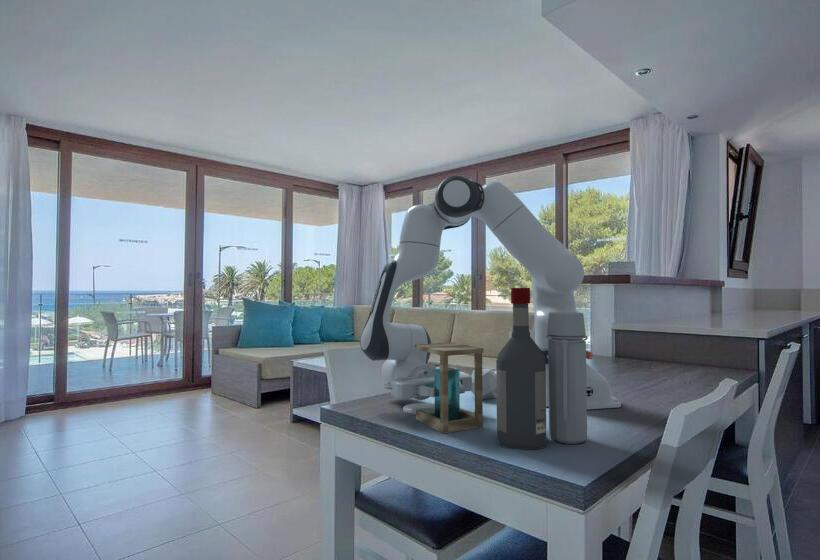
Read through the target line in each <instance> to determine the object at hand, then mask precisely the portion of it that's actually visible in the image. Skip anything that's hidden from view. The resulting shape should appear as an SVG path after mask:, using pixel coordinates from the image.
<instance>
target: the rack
mask: <svg viewBox="0 0 820 560" xmlns="http://www.w3.org/2000/svg"><path fill="white" fill-rule="evenodd" d="M414 346H415V349H416V350H421V351H425V352H429V353H431V354H433V355H438V356H439V365H440V419H439V418H437V417H435V415H434V414H428V413H426V412H424V411H422V410H416V415H415V420H417V421H418V422H421V423H422V424H424V425H426V426H428V427H431V428H432V429H434V430H436V431H438V432H440V433H442V434H448V433H455V432H461V431H465V430H467V431H468V430H472V429H478V428H483V427H484V423H483V422H484V420H483V417H484V415H483V414H484V412H483V411H484V410H483V409H484V408H483V407H484V406H483V405H484V404H483V401H484V399H483V391H482V369H483V354H484V347H479V346H473V345H468V344H462V343H456V342H452V341H449V342H436V343H435V342H434V343H431V344H418V345H414ZM463 355H474V358H473V361H474V369H475V395H474V413H473V412H470V411H467V410H465V409H462V408H460V419H459V420H452V421H448V366H449V356H451V357H452V356H463Z"/></svg>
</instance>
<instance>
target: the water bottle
mask: <svg viewBox="0 0 820 560" xmlns="http://www.w3.org/2000/svg"><path fill="white" fill-rule="evenodd" d="M584 315H585V314H584V312H549V317H548V328H547V334H548V335H546V338H547V339H548V377H549V407H548V434H549V436H550V437H551V439H552V440H553V441H555V442H558V443H562V444H566V445H577V444H581V443H584V442H585V441H586V440H587V439H588V415H587V414H588V410H587V386H586V363H587V358H586V351H587V340H588V338H589V337H588V335H587V333H586V327H585V324H586V323H585V316H584ZM548 337H550V338H551V339H550V338H548Z"/></svg>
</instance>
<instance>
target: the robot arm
mask: <svg viewBox="0 0 820 560" xmlns="http://www.w3.org/2000/svg"><path fill="white" fill-rule="evenodd" d="M434 195H435V196H434V200H433V201H432V202H431V203H429V204H428V203H427V204H423V203H422V204H415V205H413V206H411V207H409V208H408V209H407V210H406V213H405V216H404V219H403V223H402V226H401V231H400V236H399V242H398V243H399V244H398V248H397V251H396V253H395V256H394V257H393V258H392V259H391V260H388V261H387V262H386V263H385V265H384V266H383V269H382V272H381V273H380V276H379V280H378V284H377V287H376V291H375V293H374V297H373V301H372V303H371V307H370V311H369V315H368V317H367V320H366V322H365V325H364V327H363V329H362V333H361V336H360V349H361V351H362V352H363V354H364V355H365V356H366V357H367V358H368V359H369V360H371V361H374V362H375V361H384V362H383V364H382V366H381V376H382V378H383V381H384V382H385V384H384V389H386V390H389V391H390V394H391V396H392V397H394V398H396V399H397V400H407V399H408V400H409V399H415V400H418V401H425V400H427V399H429V398H435V397H437V396H438V389H437V388H435V367H437V366H440V364H438V365H437V364H431V363H428V362H429V360H430V356H431V354H432V353H429V352H425V351H421V350H416V349H415V346H414V345H418V344H432V339H431V337H430V335H429V333H428V331H427V330H426V328H425V327H424V326H423V325H420V324H410V323H396V322H389V321H388V320H389V319H388V318H389V316H390V312H391V309H392V305H393V301H394V298H395V294H396V293H397V290H398V289H400V287H401V286H402V285H404V284H406V283H410V282H412V281H416V280H419V279H423V278H425V277H427V276H428V275H430V274H432V273H433V272H434V270H435V269H436V268H437V266H438V262H439V258H440V249H441V242H442V234H443V231H446V230H449V229H455V228H459V227H462V226H464V225H466V224H467V223H468V222H469V220H470V219H471V218H477V219H478V220H480V221H482V222H483V223H484V224H485V225H486V226H487V227H488V228H489V231H491V232H492V234H493V235H494V237H496V238H497V240H498V241H499V242H500V243H501V245H503V247H504V248H505V249H506V250H507V252H508V253H509V254H510V255H511V256H512V257H513V258H515V260H516V261H518V262H519V263H520V264H521V265H522V267H523V268H524V269H525V270H527V272H528V273H529V274H530V275H531V278H530V279H531V293H532V304H533V314H534V315H533V316H534V342H535V343H536V344H537V346H538V347H539V348H540V349H541V351H542V352H543V354H544V356H545V361H546V408H547V407H548V408H549V377H548V339H547V338H546V335H548V334H547V328H548V317H549V312H577V311H578V310H577V307H576V300H575V293H574V292H575V291H576V290H577V289H578V288H579V287H580V286H581V285H582V283H583V280H584V277H585V269H584V266H583V264H582V262H581V260H580V259H579V258H578V257H576V256H575V255H574V254H573V253H572V251H570V250H569V249H568V248H567V247H566V246H565V244H563V243H562V242H561V241H560V240H558V239H557V238H556V237H555V236H554V235H553V234H552V233H551V232H549V230H548V229H546V228H545V226H544V225H542V223H541V222H540V221H539V219H537V217H536V216H535V215H534V214H533V213H532V212H531V211H530V209H529V208H528V207H527V206H526V205H525V203H524V202H523V201H522V200H521V199H520V198H519V197H518V196H517V195H516V194H515V193H514V192H513V191H512V190H511V189H509V188H508V187H507V186H506V185H504V184H503V183H501V182H499V181H494V180H493V181H489V182H487V183H485V184H483V185H482V184H481V183H478V182H476V181H473V180H471V179H469V178H466V177H464V176H460V175H452V176H448V177H446V178H445V179H443V180H442V181H441V182H440V183H439V184H438V186H437V188H436V191H435V194H434ZM548 338H550V337H548ZM550 339H551V338H550ZM593 358H594V353H593V351H589V350H586V360H593ZM586 386H587V411H588V410H597V409H614V408H621V406H622V404H621V400H620V399H618V398H617V397H615V396H613V395H612V390H611V387H610V383H609V381H608V380H607V378H606V377H605V376H604V375H602V374H601V373H599V372H598V371H597V370H596V369H595V368H593V367H592V366H591V365H590V364H588V363H587V362H586ZM471 390H472V374H469V373H466V372H464V371H461V370H460V394H461V395H462V394H465V392H472V391H471Z"/></svg>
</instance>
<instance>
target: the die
mask: <svg viewBox="0 0 820 560" xmlns="http://www.w3.org/2000/svg"><path fill="white" fill-rule="evenodd" d="M471 376H472V390H471V391H470V392H471V393H472V394H473V395H474V396H475V368H474V369H473V370H472V373H471ZM482 391H483V400H493V399H495V400H496V399H497V381H496V373H495V371H494V370H493V369H492V368H482Z"/></svg>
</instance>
